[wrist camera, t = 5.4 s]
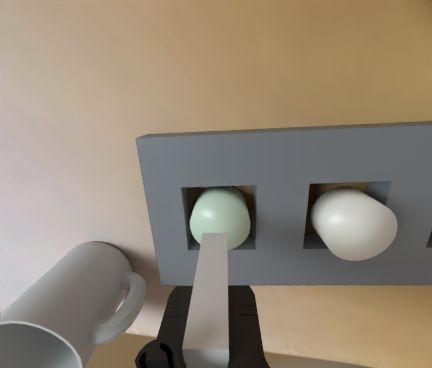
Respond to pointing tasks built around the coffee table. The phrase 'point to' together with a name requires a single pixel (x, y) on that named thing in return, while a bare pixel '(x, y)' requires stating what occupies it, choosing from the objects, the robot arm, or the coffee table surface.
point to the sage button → (221, 215)
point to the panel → (293, 199)
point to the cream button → (353, 223)
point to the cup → (72, 310)
